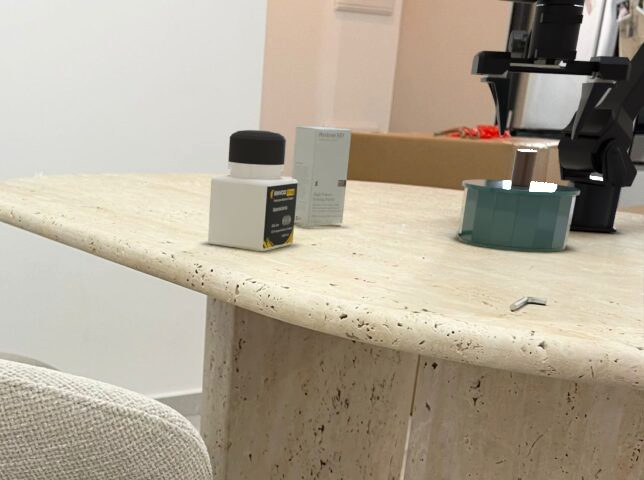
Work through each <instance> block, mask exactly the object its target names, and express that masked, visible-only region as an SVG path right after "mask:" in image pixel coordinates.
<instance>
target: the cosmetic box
mask: <svg viewBox="0 0 644 480" xmlns="http://www.w3.org/2000/svg"><path fill="white" fill-rule="evenodd" d="M351 141H352V129H350V128H339V127H327V126H308V125H307V126H305V125H304V126H302V125H297V126H296V127H295V136H294V146H293V159H292V171H291V178H292V179H296V180H297V182H298V186H297V198H296V209H295V221H294V226H296V227H300V228H307V229H308V228H335V227H336V228H337V227H339V228H340V227H341V225H339V224H343V220H344V210H345V209H344V208H345V199H346V191H347V181H348V170H349V168H348V167H349V159H350V158H349V157H350V149H351Z"/></svg>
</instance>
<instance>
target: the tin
mask: <svg viewBox="0 0 644 480" xmlns="http://www.w3.org/2000/svg"><path fill="white" fill-rule="evenodd" d="M463 189H464V190H463V197H462V202H461V211H460V218H459V223H458V232H457V236H458V238H457V240H458V241H460V242H462V243H465V244H467V245H471V246H475V247H481V248H487V249H495V250H501V251H502V250H504V251H511V252H513V251H514V252H528V253H529V252H530V253H531V252H532V253H552V252H561V251H564V250H565V249H566V246H567V245H568V241H569V235H570V230H571V229H570V225H571V220H572V214H573V209H574V204H575V198H576V196H538V195H522V194H510V193H499V192H490V191H483V190H476V189H471V188H466V187H464V188H463Z"/></svg>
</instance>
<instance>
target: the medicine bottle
mask: <svg viewBox="0 0 644 480" xmlns="http://www.w3.org/2000/svg"><path fill="white" fill-rule="evenodd" d="M228 143H229V145H228V158H227V159H228V161H227V162H228V163H227V168H228V169H229V170H230V174H225V175H224V174H223V175H217V176H212V177H211V179H210V197H209V213H208V215H209V216H208V233H207V234H208V235H207V242H208V244H210V245H215V246H223V247H229V248H235V249H236V248H237V249H243V250H250V251H257V252H267V251H270V250H271V251H272V250H275V249H279V248H284V247H287V246H291V245H292V244H293V242H294V231H295V225H294V223H295V209H296V198H297V186H298V182H297V180H296V179H292V177H287V176H281V174H282V172H284V170H285V159H286V147H287V146H286V145H287V139H286V137H285V136H284V135H282V134H280V133H279V132H275V131H270V130H260V129H259V130H256V129H245V130H244V129H243V130H237V131H235V132H232V133H231V135H230V136H229V142H228Z"/></svg>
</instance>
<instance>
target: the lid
mask: <svg viewBox="0 0 644 480" xmlns="http://www.w3.org/2000/svg"><path fill="white" fill-rule="evenodd" d="M514 152H515V153H514V159H513V166H512V171H511V177H510V178H511V179H510V180H509V179H508V180H507V179H464V180H462V182H461V186H462V187H464V188H465V187H466V188H471V189H476V190H483V191H490V192H499V193H510V194H522V195H538V196H576V195H579V194H580V191H581V190H580V189H578V188H574V187H569V185H563V184H562V185H561V184H554V183H547V182H545V183H544V182H537V181H536V182H535V181H533V177H534V172H535V171H534V170H535V166H536V158H537V154H538V151H537V150H533V149H531V150H530V149H515V151H514Z"/></svg>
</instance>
